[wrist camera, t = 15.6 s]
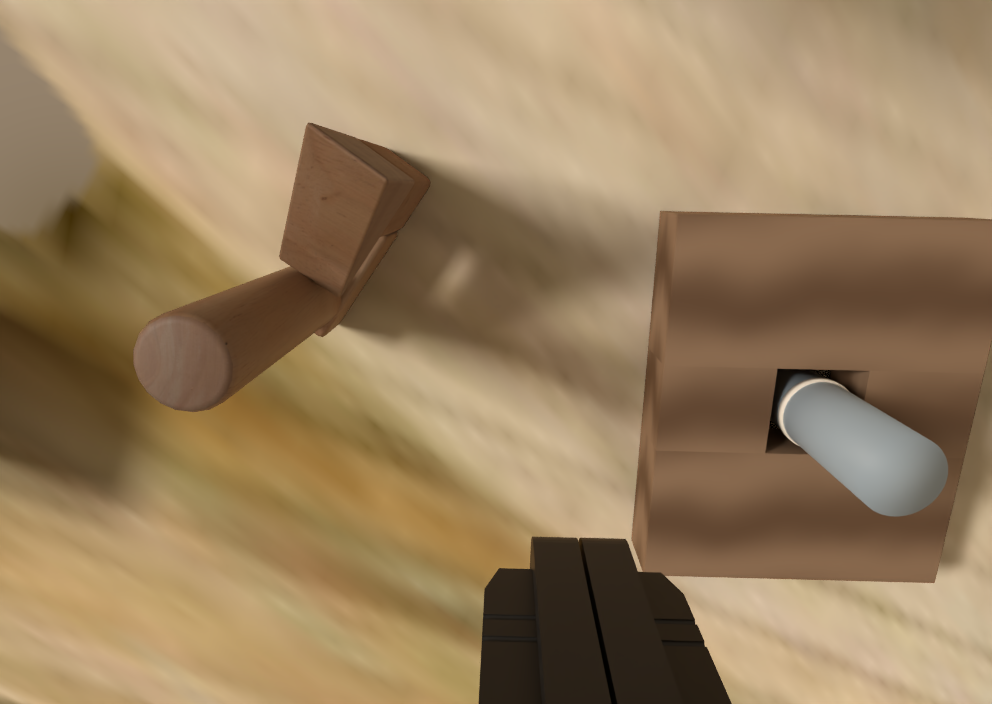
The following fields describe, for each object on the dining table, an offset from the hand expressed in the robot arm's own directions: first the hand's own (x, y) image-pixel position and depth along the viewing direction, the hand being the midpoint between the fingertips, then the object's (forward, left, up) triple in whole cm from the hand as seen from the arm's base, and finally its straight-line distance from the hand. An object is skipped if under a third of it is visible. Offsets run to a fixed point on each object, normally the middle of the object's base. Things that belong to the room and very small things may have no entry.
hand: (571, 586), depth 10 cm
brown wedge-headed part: (-3, -10, -29) cm, 31 cm away
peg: (+6, +17, -29) cm, 34 cm away
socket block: (+6, +17, -29) cm, 34 cm away
